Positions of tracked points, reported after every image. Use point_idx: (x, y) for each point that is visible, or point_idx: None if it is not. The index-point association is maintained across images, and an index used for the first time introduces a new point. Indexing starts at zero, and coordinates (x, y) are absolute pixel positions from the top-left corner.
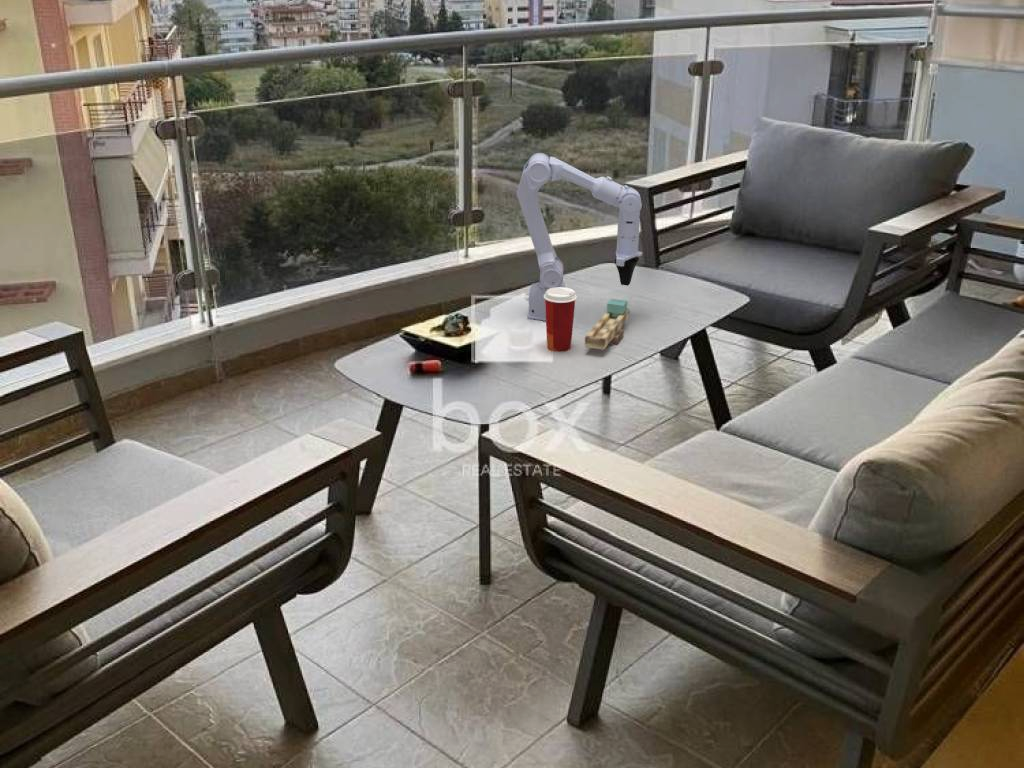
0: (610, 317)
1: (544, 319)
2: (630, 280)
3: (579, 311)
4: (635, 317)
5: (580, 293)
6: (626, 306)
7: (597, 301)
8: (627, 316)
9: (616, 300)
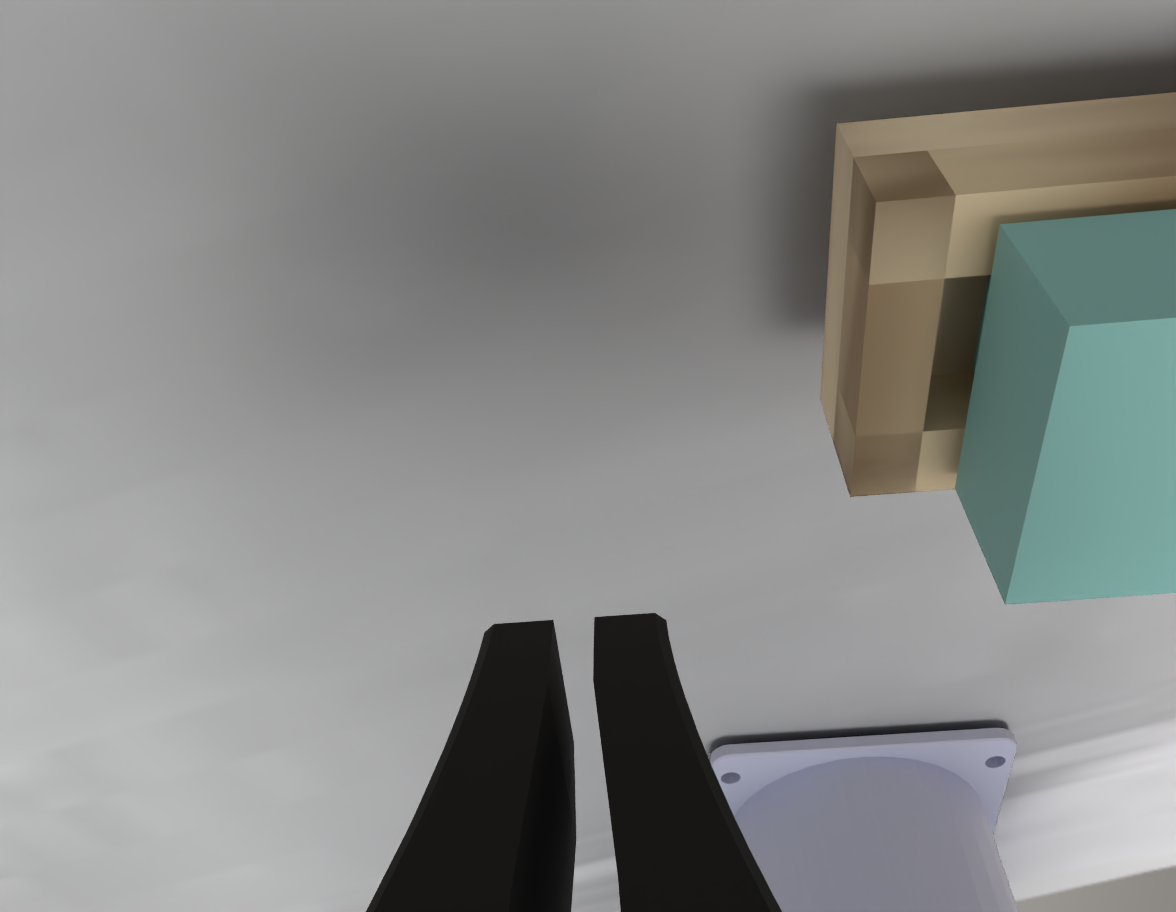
0: None
1: (991, 829)
2: (547, 695)
3: None
4: (434, 91)
5: (111, 819)
6: (1088, 259)
7: (196, 660)
8: (979, 138)
9: (1096, 511)
